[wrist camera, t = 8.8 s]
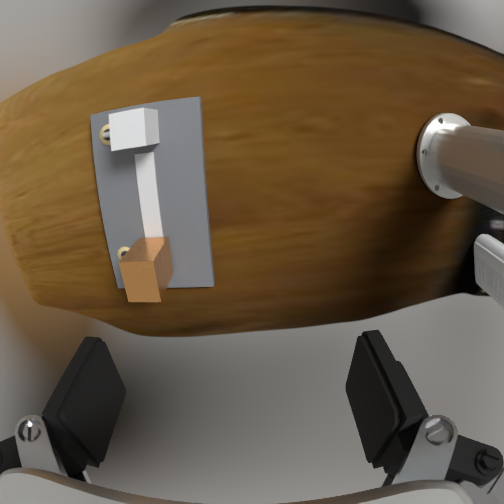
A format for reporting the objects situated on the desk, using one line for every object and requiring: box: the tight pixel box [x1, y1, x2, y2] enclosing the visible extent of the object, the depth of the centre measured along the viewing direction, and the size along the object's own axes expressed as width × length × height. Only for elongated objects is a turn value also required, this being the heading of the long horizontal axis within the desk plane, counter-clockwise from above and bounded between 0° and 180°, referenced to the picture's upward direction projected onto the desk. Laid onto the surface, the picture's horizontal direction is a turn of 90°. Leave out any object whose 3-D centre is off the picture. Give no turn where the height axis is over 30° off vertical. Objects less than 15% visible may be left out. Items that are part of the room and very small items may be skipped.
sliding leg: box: [119, 237, 174, 302], centre depth 33 cm, size 7×5×7 cm
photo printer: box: [474, 234, 504, 308], centre depth 35 cm, size 10×4×12 cm, turn 27°
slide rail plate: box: [90, 97, 215, 288], centre depth 33 cm, size 14×24×6 cm, turn 2°
